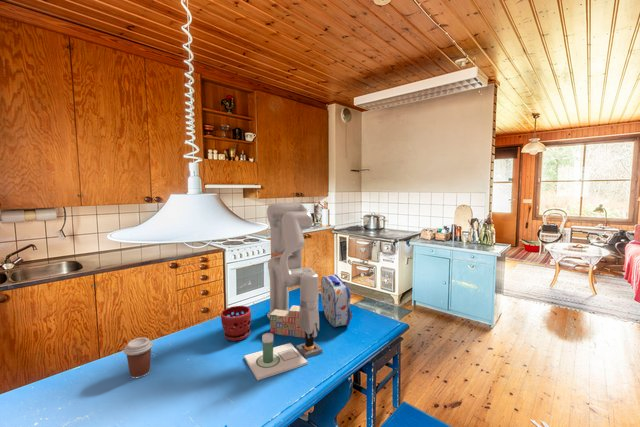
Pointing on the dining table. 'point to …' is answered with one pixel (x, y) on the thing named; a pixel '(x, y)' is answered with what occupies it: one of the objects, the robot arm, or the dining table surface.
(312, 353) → the button housing
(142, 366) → the coffee cup
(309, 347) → the button
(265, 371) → the activity sheet
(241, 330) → the plant pot
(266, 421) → the dining table surface
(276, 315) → the stack of blocks
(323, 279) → the lunch box
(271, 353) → the marker
